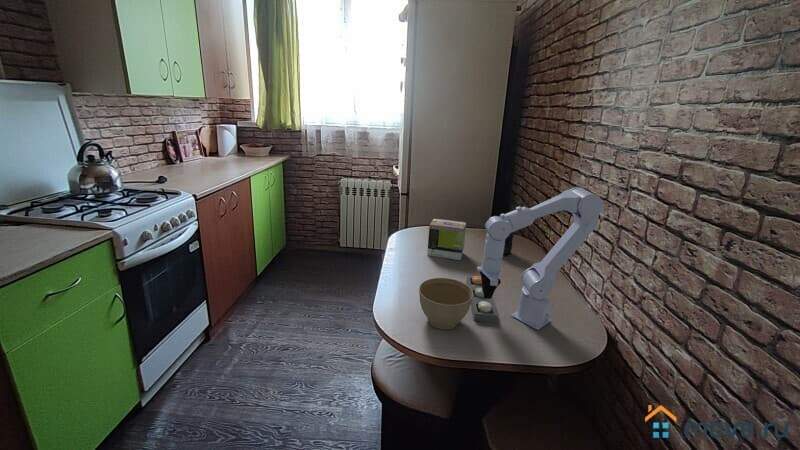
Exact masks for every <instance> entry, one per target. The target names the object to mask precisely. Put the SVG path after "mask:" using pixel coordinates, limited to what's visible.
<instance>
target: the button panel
mask: <svg viewBox="0 0 800 450" xmlns="http://www.w3.org/2000/svg"><path fill="white" fill-rule="evenodd" d="M472 277H473V276H466V279H465V281H466V282H465V284H466V285H468V286H469V287H470V288H471V290H472V292H473V298H472V300H471V305H470V309H471V313H472V317H473V321H476V322H484V323H485V322H486V323H487V322H488V323H497V322H498V316H499V315H498V313H497V309H496V307H495V303H494V300H493V297H492V298H491V299H487V298H477V297H475V289H476V288H482V285H473V284H472ZM482 301H485V302H488V303H490V304H491V305H492V307H491V312H490V313H481V312H479V310H478V306H479V302H482Z"/></svg>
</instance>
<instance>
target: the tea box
mask: <svg viewBox="0 0 800 450" xmlns="http://www.w3.org/2000/svg"><path fill="white" fill-rule="evenodd" d="M428 227H429V229H428V239H427V241H428V242H427V252H426V253H427V254H426V255H427V256H430V257H437V258H444V259H451V260H456V261H461V260H462V257H463V253H464V247H465V238H466V230H467V229H466V228H467V222H465V221H459V220H458V221H457V220H449V219H442V218H441V219H440V218H433V219H432V220H431V222H430V223H429V226H428Z"/></svg>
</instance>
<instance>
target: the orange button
mask: <svg viewBox="0 0 800 450" xmlns="http://www.w3.org/2000/svg"><path fill="white" fill-rule="evenodd" d="M471 277H472V284H473V285H482V279H481V275H474V276H471Z"/></svg>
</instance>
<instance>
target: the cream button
mask: <svg viewBox="0 0 800 450" xmlns="http://www.w3.org/2000/svg"><path fill="white" fill-rule="evenodd" d="M491 307H492V305H491V304H490V303H488V302H485V301H482V302H479V306H478V310H479V312H481V313H490V312H491Z"/></svg>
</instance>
